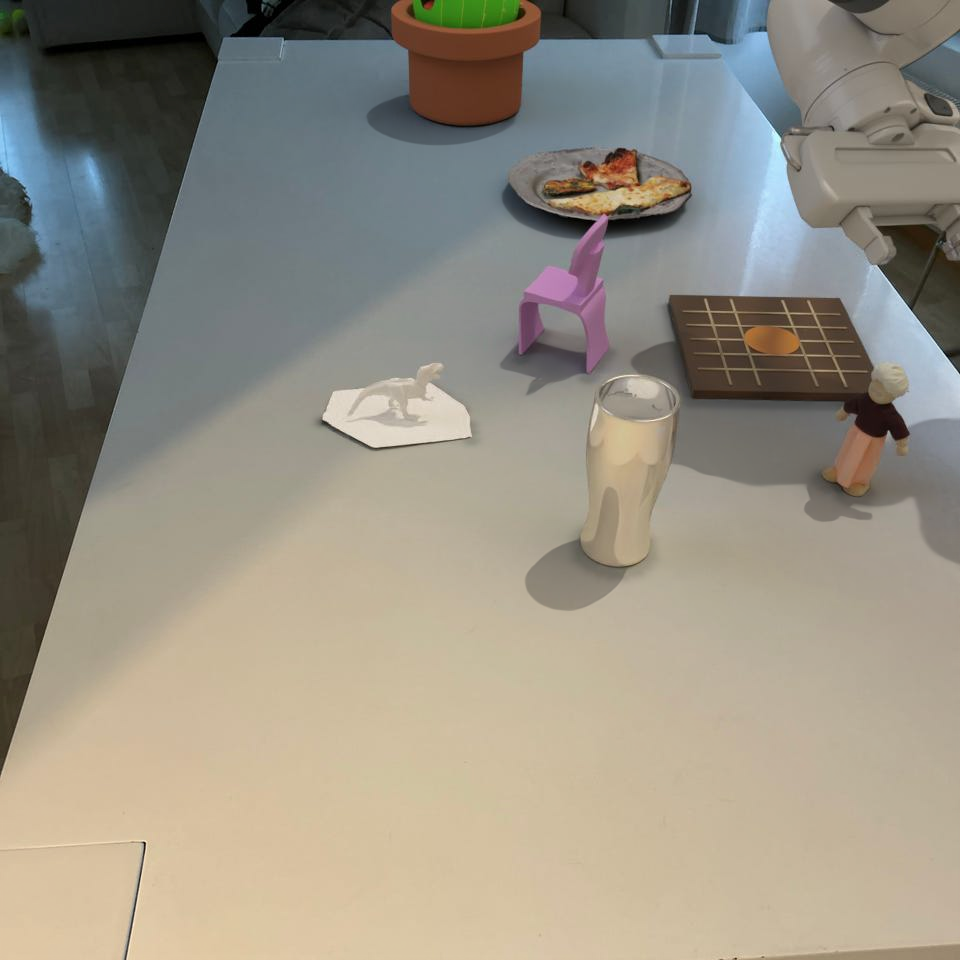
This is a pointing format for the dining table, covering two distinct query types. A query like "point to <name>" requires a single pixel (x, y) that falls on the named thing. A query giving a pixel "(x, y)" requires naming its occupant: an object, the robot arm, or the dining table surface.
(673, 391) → the beer glass
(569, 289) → the toy chair
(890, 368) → the grandmother figurine
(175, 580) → the dining table surface
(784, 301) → the game board
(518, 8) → the potted cactus
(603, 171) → the food plate
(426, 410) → the dinosaur figurine
